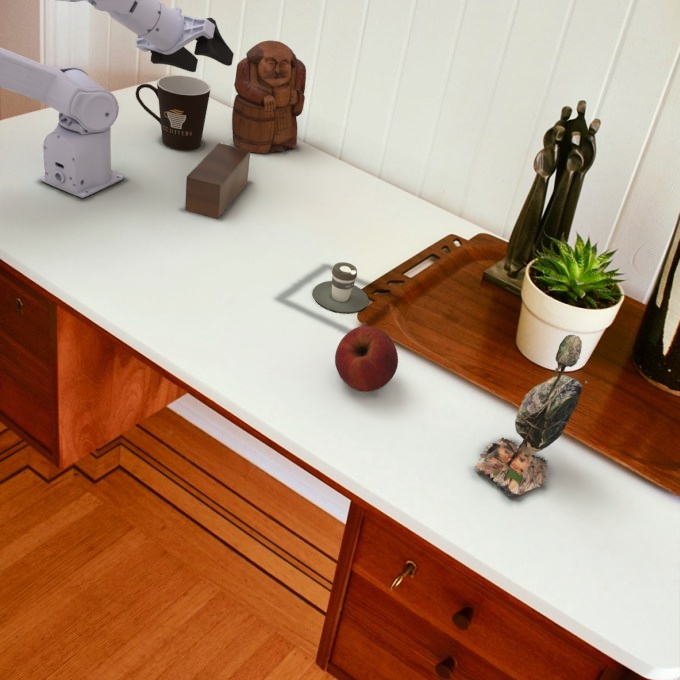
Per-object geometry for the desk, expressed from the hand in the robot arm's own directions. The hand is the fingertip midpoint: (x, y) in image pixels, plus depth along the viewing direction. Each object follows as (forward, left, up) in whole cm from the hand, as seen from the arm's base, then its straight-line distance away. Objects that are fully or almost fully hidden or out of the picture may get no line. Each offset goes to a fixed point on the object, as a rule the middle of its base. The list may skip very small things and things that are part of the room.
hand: (213, 62), depth 137 cm
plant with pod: (-39, -70, -16) cm, 82 cm away
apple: (-37, -49, -16) cm, 63 cm away
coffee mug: (+3, +8, -16) cm, 19 cm away
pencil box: (-9, -8, -16) cm, 20 cm away
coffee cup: (-22, -38, -16) cm, 47 cm away
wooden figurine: (+13, -4, -16) cm, 21 cm away
